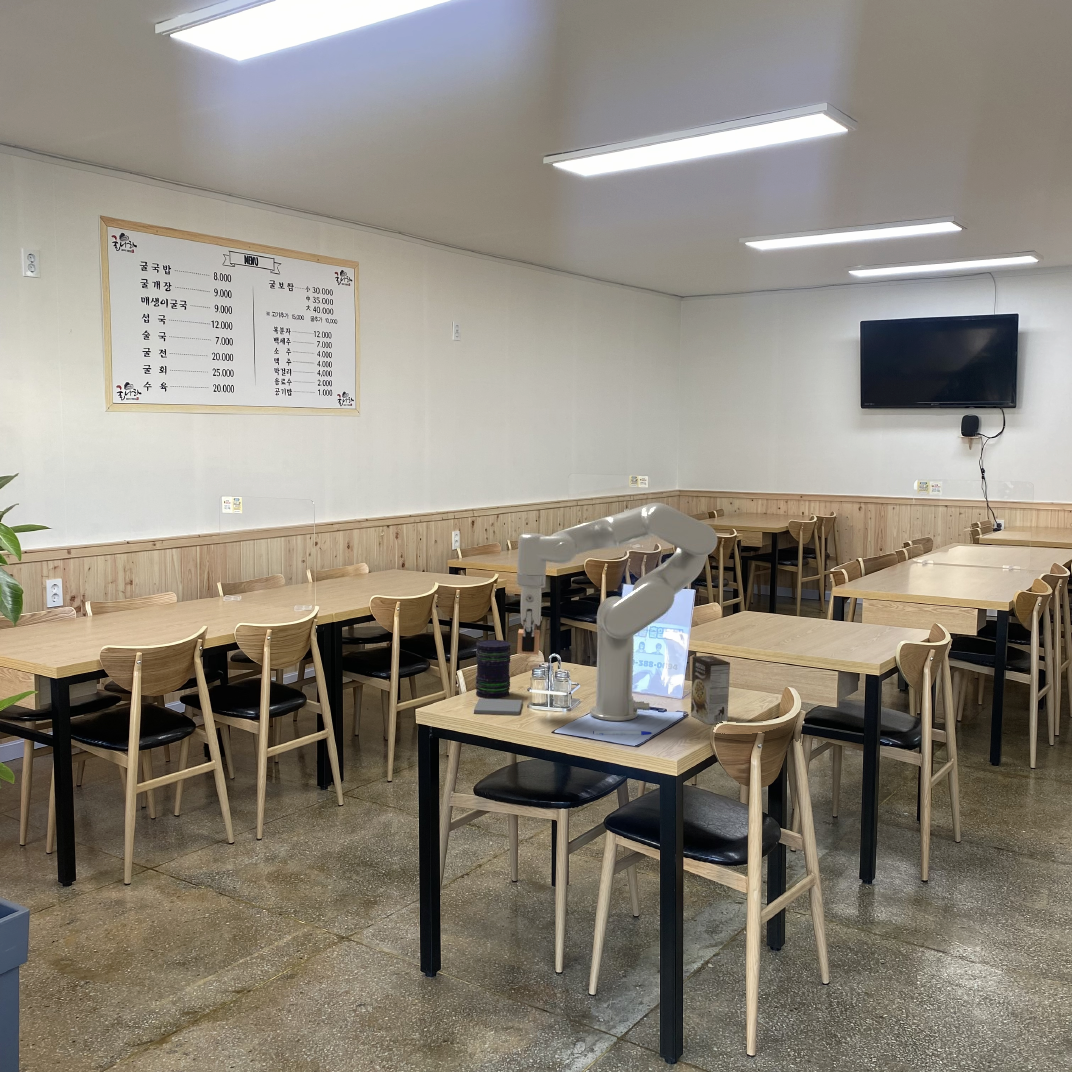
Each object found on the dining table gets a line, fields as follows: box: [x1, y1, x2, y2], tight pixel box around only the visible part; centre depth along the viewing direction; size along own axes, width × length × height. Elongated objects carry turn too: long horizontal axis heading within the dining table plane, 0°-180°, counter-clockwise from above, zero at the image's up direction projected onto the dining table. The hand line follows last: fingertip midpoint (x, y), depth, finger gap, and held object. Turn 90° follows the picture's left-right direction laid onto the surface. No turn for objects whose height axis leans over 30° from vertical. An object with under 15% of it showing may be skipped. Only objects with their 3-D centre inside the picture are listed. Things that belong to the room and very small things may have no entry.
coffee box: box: [690, 655, 731, 725], centre depth 261 cm, size 9×6×16 cm
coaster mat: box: [473, 698, 523, 716], centre depth 268 cm, size 12×12×1 cm
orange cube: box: [516, 628, 541, 656], centre depth 261 cm, size 6×6×6 cm
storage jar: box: [475, 639, 512, 699], centre depth 283 cm, size 10×10×15 cm
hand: (528, 648), depth 261 cm, fingers closed on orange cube, 5 cm apart
